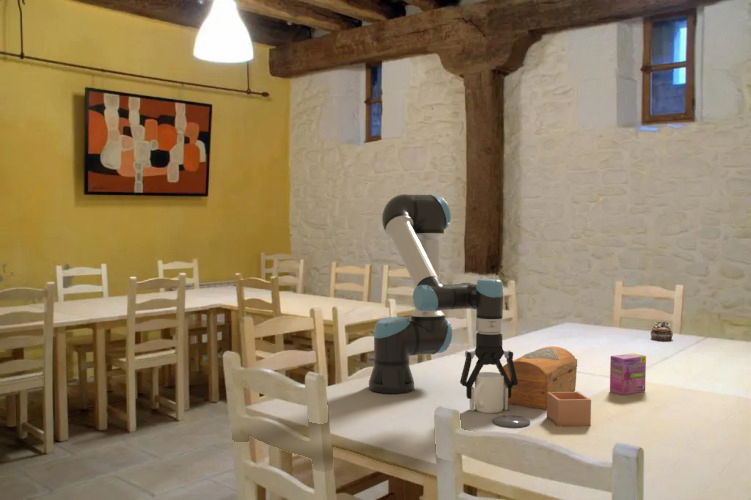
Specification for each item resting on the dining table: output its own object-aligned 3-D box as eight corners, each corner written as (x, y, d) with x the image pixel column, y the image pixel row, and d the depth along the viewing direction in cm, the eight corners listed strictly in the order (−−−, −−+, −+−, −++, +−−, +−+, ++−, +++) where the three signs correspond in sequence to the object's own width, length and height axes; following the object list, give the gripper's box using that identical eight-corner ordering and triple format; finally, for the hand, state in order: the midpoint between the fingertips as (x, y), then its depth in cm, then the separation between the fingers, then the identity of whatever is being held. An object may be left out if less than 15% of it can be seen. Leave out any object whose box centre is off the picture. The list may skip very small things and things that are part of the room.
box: (623, 395, 218) (623, 358, 218) (609, 391, 223) (609, 355, 223) (646, 391, 223) (646, 355, 223) (632, 388, 228) (632, 352, 228)
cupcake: (646, 342, 321) (646, 320, 321) (665, 341, 322) (666, 320, 322) (656, 345, 312) (657, 323, 311) (676, 345, 313) (677, 323, 312)
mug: (487, 418, 191) (487, 381, 191) (462, 412, 196) (462, 377, 196) (508, 409, 200) (508, 374, 200) (484, 404, 206) (484, 370, 205)
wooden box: (530, 384, 234) (530, 343, 234) (578, 390, 225) (579, 348, 225) (494, 402, 209) (495, 357, 209) (547, 410, 200) (548, 363, 200)
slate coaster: (498, 428, 182) (498, 425, 182) (488, 417, 192) (488, 415, 192) (535, 427, 183) (535, 425, 183) (523, 416, 193) (523, 414, 193)
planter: (558, 426, 184) (558, 400, 183) (546, 416, 193) (547, 392, 192) (590, 425, 184) (591, 399, 184) (577, 416, 193) (578, 391, 193)
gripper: (454, 334, 194) (454, 413, 195) (530, 334, 196) (529, 411, 197) (449, 330, 202) (449, 406, 202) (522, 330, 204) (521, 405, 204)
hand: (488, 409), depth 200 cm, fingers open, 9 cm apart
